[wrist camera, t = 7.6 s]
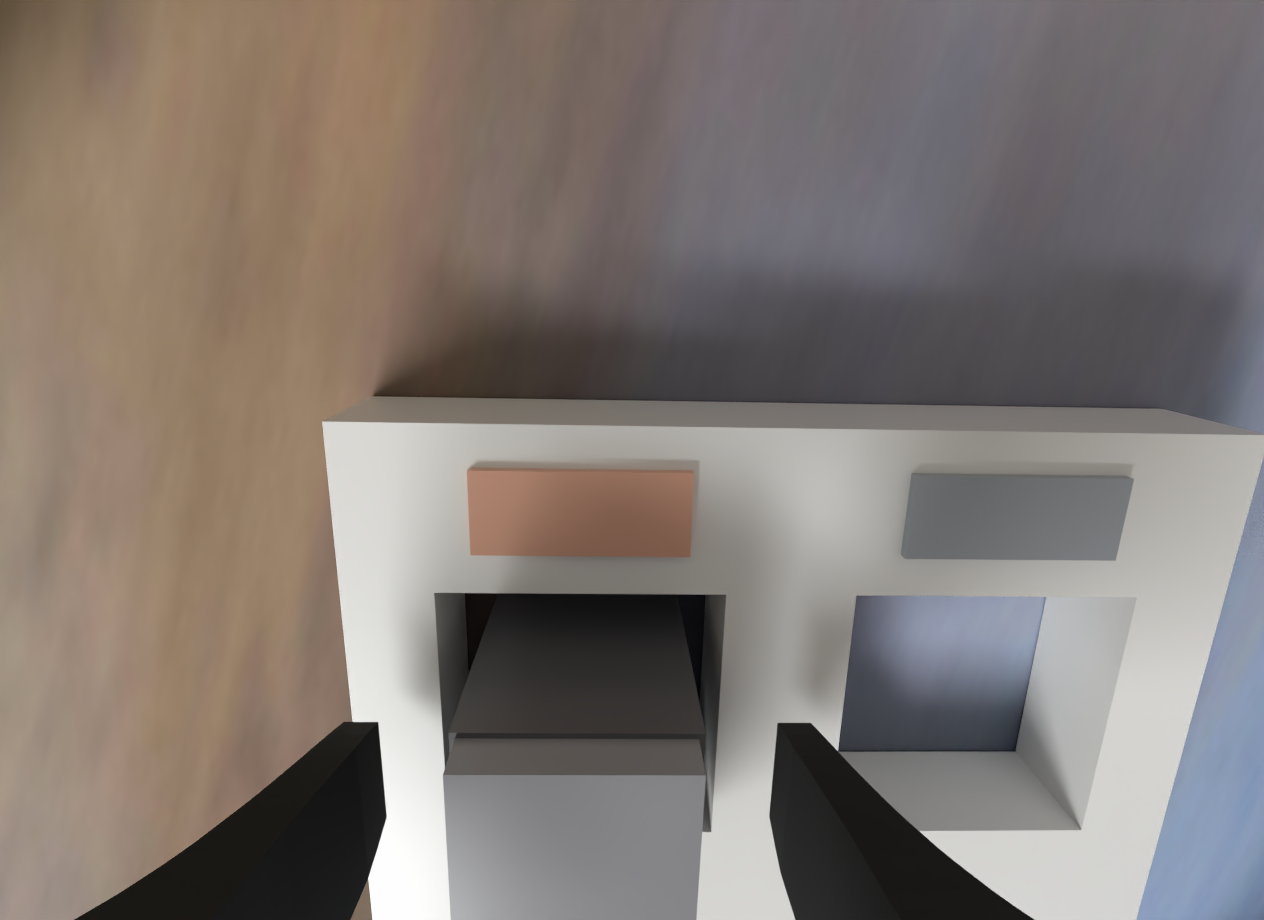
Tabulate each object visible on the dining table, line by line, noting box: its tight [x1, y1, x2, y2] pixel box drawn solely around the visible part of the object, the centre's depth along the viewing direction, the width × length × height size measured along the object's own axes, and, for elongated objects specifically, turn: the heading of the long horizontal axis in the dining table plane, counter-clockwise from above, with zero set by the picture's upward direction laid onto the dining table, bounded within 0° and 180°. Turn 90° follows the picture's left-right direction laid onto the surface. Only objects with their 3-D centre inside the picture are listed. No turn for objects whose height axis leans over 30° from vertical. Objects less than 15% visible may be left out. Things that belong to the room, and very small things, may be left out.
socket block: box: [322, 396, 1264, 920], centre depth 15 cm, size 17×12×3 cm
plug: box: [443, 593, 706, 920], centre depth 13 cm, size 4×4×6 cm
